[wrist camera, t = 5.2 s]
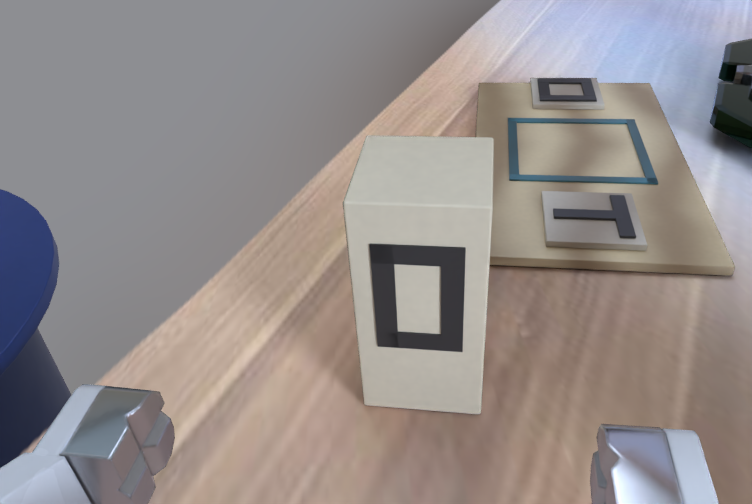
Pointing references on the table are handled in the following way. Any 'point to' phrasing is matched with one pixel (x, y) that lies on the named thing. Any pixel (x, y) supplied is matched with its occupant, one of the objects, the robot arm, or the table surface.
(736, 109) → the four-lobed dark green device
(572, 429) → the table surface
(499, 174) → the word board
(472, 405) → the letter block
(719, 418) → the table surface
